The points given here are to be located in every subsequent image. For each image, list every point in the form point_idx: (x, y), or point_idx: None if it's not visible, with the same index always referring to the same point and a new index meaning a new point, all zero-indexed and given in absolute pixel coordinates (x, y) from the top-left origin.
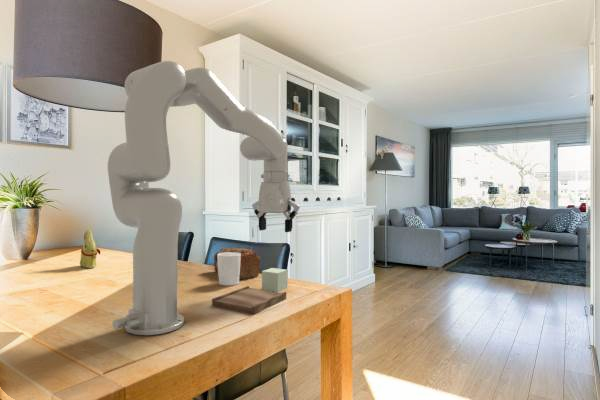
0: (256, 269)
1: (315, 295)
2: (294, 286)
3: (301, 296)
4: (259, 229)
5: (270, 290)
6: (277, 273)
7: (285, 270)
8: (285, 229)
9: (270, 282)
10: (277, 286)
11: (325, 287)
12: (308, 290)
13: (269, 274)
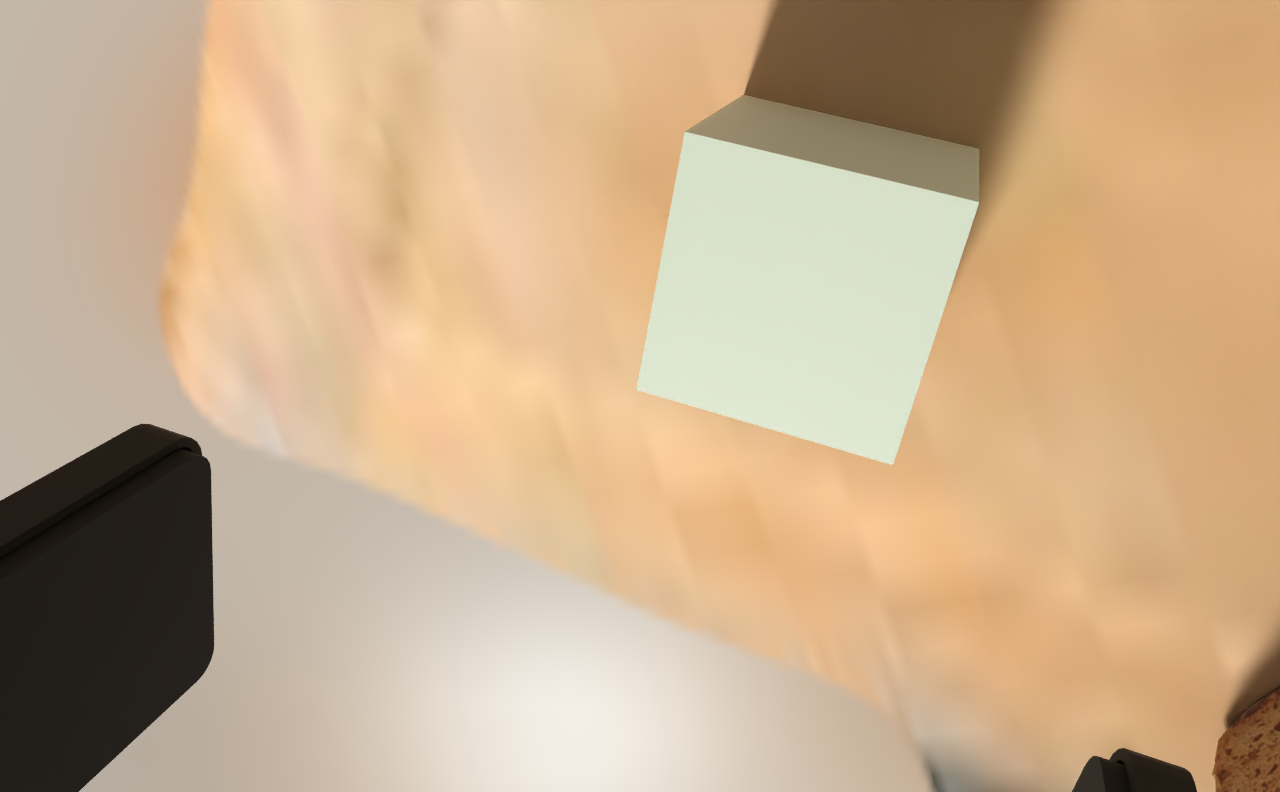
0: (1256, 783)
1: (334, 97)
2: None
3: (441, 7)
4: (1172, 769)
5: (845, 118)
6: (693, 131)
7: (648, 342)
8: (129, 458)
9: (834, 136)
10: (733, 105)
11: (358, 417)
12: (460, 267)
13: (837, 158)
